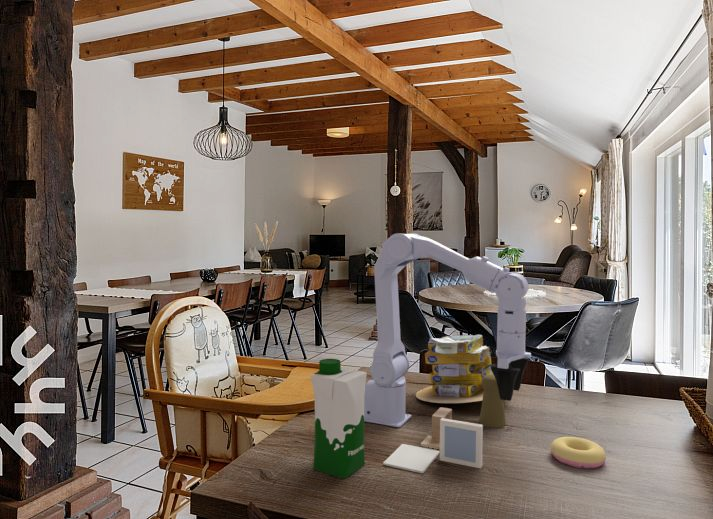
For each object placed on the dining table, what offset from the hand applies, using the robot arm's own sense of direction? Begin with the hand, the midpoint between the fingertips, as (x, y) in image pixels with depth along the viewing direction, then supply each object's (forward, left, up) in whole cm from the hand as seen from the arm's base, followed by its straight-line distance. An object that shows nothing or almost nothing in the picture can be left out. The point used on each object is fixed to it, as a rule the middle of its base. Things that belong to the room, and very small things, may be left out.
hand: (510, 394), depth 111 cm
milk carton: (-26, -27, -10) cm, 39 cm away
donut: (+14, -3, -10) cm, 17 cm away
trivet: (-15, -17, -10) cm, 25 cm away
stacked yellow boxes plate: (-16, +24, -10) cm, 31 cm away
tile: (-6, -15, -10) cm, 19 cm away
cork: (-5, +9, -10) cm, 15 cm away
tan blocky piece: (-13, -6, -10) cm, 18 cm away
